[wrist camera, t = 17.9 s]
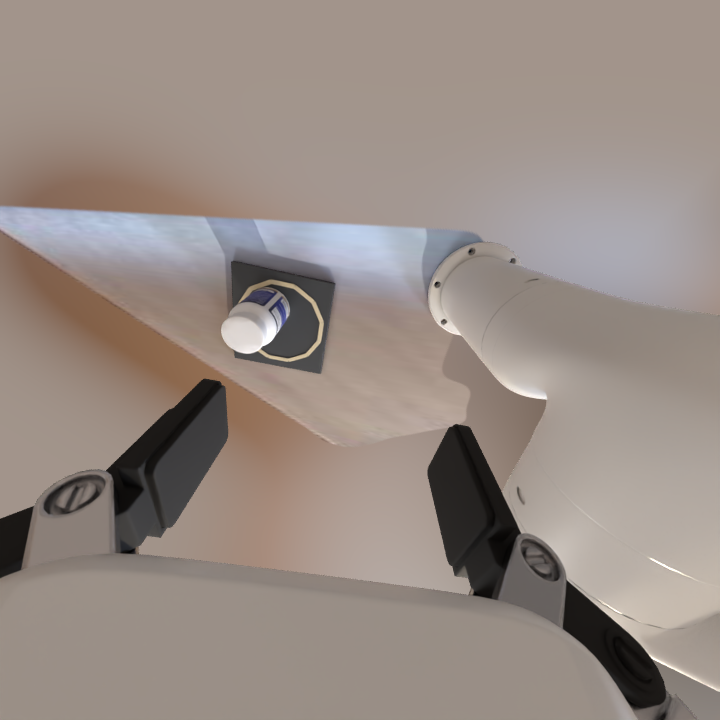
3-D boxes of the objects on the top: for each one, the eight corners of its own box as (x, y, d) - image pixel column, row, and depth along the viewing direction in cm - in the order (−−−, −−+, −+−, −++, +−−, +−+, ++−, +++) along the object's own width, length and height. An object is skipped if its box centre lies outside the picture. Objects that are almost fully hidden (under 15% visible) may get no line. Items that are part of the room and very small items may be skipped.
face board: (335, 283, 36) (334, 284, 35) (321, 372, 43) (320, 374, 42) (233, 260, 34) (230, 261, 34) (236, 356, 42) (234, 358, 41)
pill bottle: (243, 308, 37) (207, 338, 29) (262, 277, 35) (228, 299, 26) (278, 332, 39) (253, 366, 30) (298, 303, 37) (277, 332, 28)
